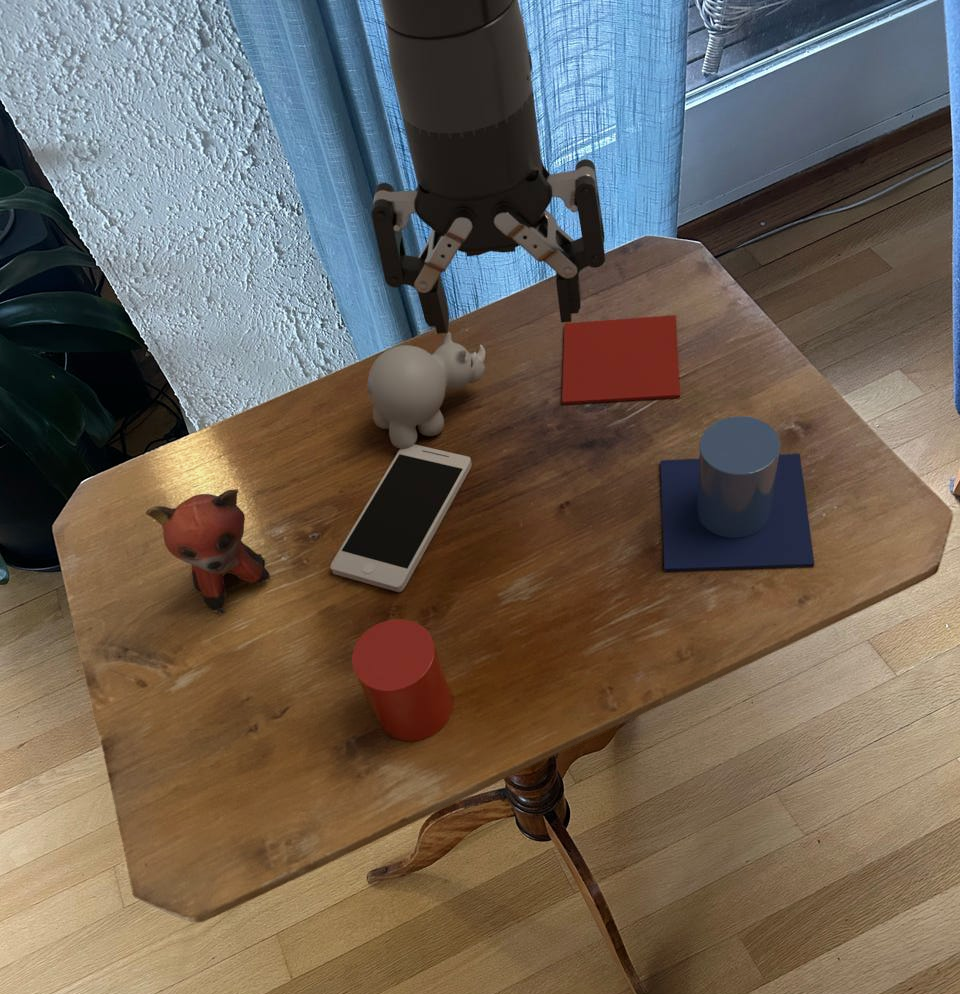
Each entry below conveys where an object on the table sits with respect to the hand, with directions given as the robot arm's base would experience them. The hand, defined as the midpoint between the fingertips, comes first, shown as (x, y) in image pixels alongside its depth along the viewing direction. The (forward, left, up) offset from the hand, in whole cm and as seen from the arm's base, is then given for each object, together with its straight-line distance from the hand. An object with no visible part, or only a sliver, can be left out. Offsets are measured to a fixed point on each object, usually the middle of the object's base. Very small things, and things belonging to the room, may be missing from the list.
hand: (504, 320), depth 70 cm
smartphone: (+12, -2, -23) cm, 26 cm away
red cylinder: (+9, +17, -23) cm, 30 cm away
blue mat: (-17, -1, -23) cm, 29 cm away
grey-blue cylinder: (-17, -1, -23) cm, 28 cm away
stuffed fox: (+27, +3, -23) cm, 36 cm away
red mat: (-7, -21, -23) cm, 32 cm away
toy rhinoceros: (+11, -15, -23) cm, 29 cm away
